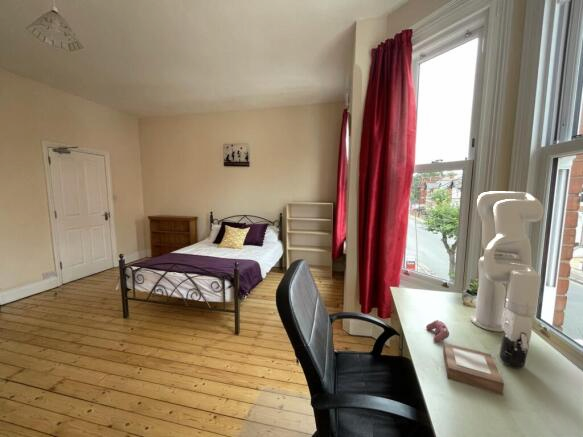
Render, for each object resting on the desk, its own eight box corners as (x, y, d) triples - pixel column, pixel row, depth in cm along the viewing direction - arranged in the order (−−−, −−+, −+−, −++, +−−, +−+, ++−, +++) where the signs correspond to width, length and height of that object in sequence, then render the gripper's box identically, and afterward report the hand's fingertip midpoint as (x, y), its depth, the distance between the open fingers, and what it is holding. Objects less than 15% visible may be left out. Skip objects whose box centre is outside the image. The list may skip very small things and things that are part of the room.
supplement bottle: (504, 366, 83) (509, 334, 81) (495, 352, 89) (499, 323, 87) (529, 371, 81) (535, 338, 79) (519, 357, 87) (523, 326, 85)
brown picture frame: (443, 352, 91) (444, 342, 91) (489, 364, 85) (491, 353, 84) (447, 378, 79) (448, 367, 78) (502, 395, 73) (504, 382, 72)
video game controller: (443, 347, 96) (453, 333, 95) (433, 341, 97) (443, 327, 95) (434, 332, 106) (443, 319, 105) (424, 327, 107) (433, 314, 105)
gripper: (498, 293, 91) (492, 336, 94) (515, 316, 76) (507, 367, 78) (524, 297, 88) (517, 342, 90) (548, 322, 72) (538, 375, 75)
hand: (513, 353), depth 84 cm, fingers closed on supplement bottle, 6 cm apart
